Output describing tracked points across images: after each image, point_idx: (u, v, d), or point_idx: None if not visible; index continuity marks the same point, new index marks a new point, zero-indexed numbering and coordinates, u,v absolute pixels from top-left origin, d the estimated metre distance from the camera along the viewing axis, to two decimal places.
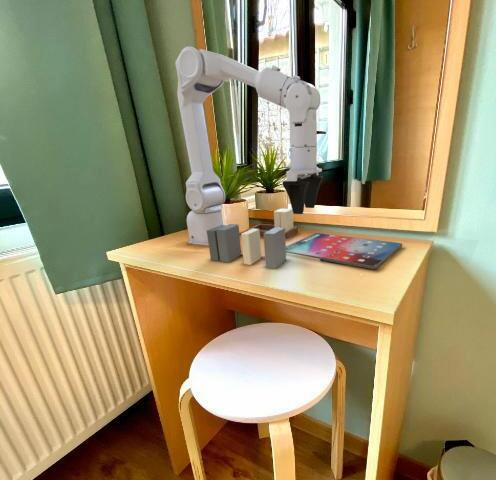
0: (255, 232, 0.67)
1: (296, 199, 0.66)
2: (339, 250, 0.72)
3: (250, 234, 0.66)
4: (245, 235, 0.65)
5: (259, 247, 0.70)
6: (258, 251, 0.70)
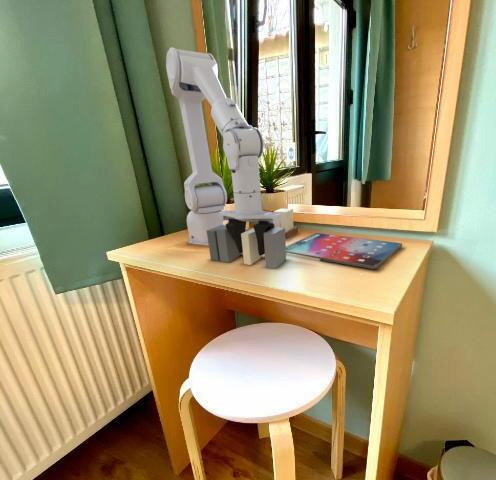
0: None
1: None
2: (339, 250, 0.72)
3: (250, 234, 0.66)
4: (245, 235, 0.65)
5: None
6: None
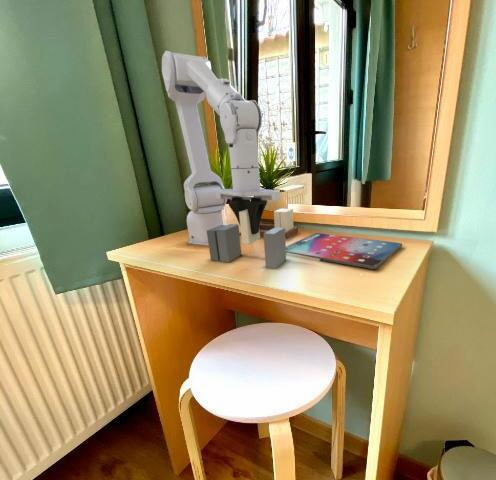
0: None
1: None
2: (339, 250, 0.72)
3: None
4: (243, 213, 0.63)
5: None
6: None
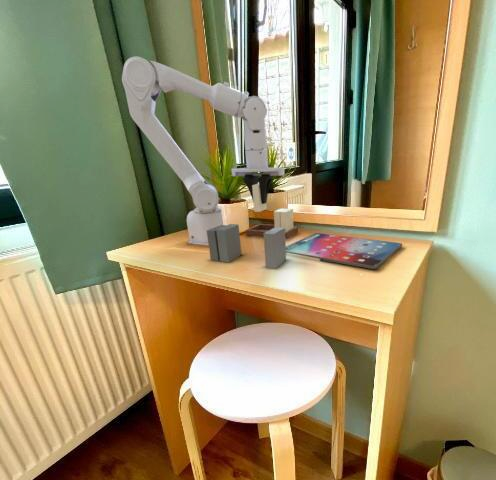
0: None
1: None
2: (339, 250, 0.72)
3: (259, 186, 0.81)
4: (256, 186, 0.80)
5: None
6: None
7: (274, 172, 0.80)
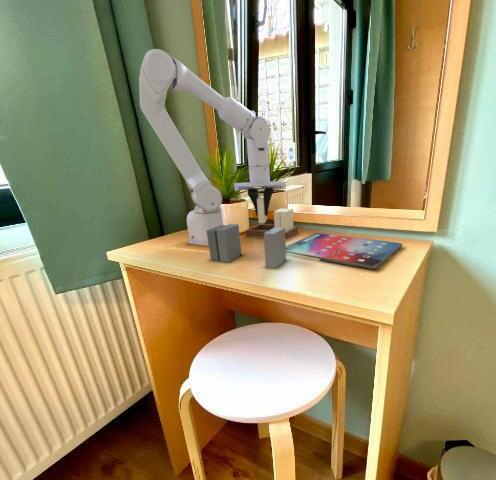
0: None
1: None
2: (339, 250, 0.72)
3: (263, 199, 0.86)
4: (260, 199, 0.85)
5: None
6: None
7: (277, 186, 0.86)
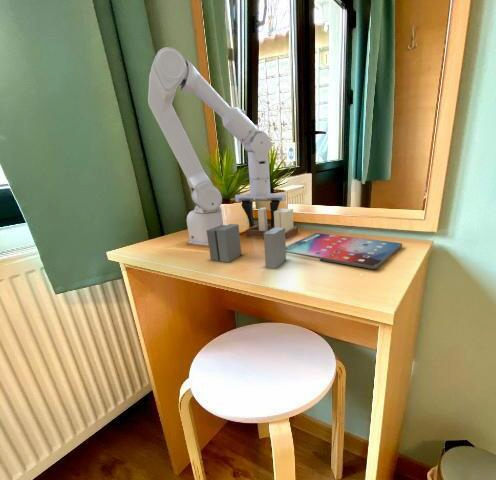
0: (265, 209, 0.89)
1: None
2: (339, 250, 0.72)
3: (264, 211, 0.87)
4: (261, 211, 0.87)
5: (266, 221, 0.92)
6: (266, 224, 0.92)
7: (277, 198, 0.87)
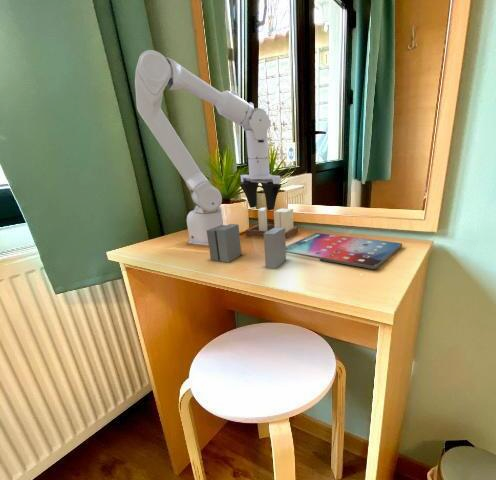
0: (265, 209, 0.89)
1: (271, 198, 0.84)
2: (339, 250, 0.72)
3: (264, 211, 0.87)
4: (261, 211, 0.87)
5: (266, 221, 0.92)
6: (266, 224, 0.92)
7: None
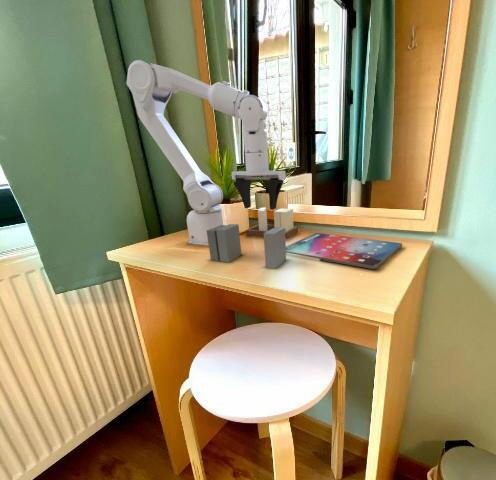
0: (265, 209, 0.89)
1: (274, 196, 0.77)
2: (339, 250, 0.72)
3: (264, 211, 0.87)
4: (261, 211, 0.87)
5: (266, 221, 0.92)
6: (266, 224, 0.92)
7: None
